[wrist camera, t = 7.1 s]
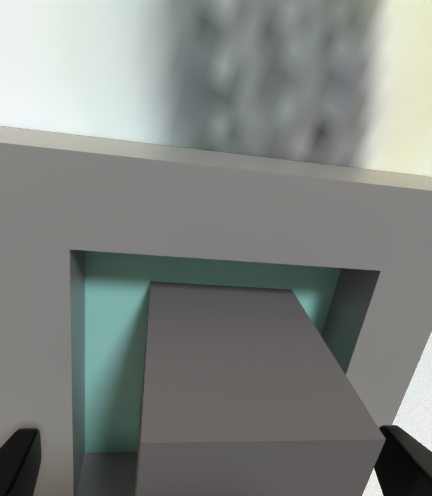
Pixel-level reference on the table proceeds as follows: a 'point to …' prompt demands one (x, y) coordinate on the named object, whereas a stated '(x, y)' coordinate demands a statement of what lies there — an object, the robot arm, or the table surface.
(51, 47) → the table surface
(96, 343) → the socket
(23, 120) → the table surface
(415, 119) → the table surface
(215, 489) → the block
